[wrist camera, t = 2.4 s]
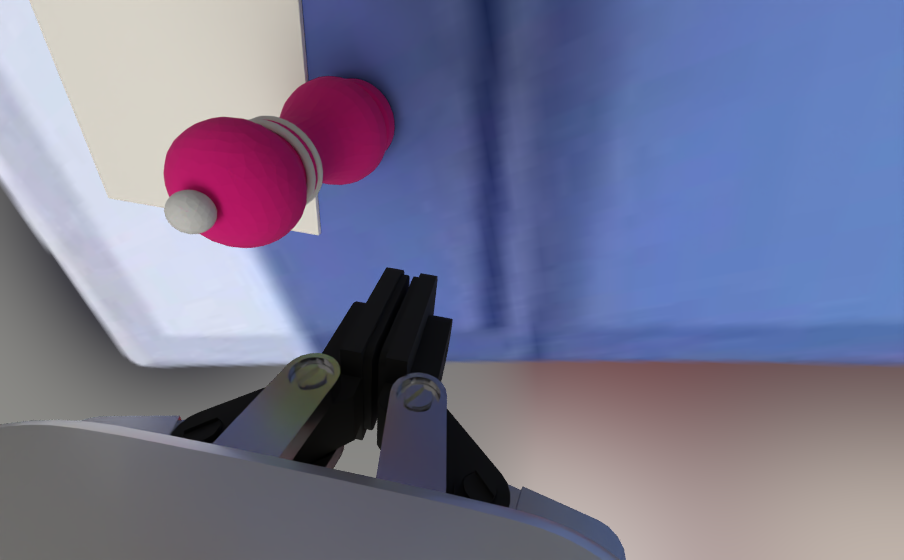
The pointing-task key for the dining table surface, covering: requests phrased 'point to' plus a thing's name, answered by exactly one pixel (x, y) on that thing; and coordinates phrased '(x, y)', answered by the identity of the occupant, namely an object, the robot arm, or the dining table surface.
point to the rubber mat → (170, 77)
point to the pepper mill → (274, 161)
